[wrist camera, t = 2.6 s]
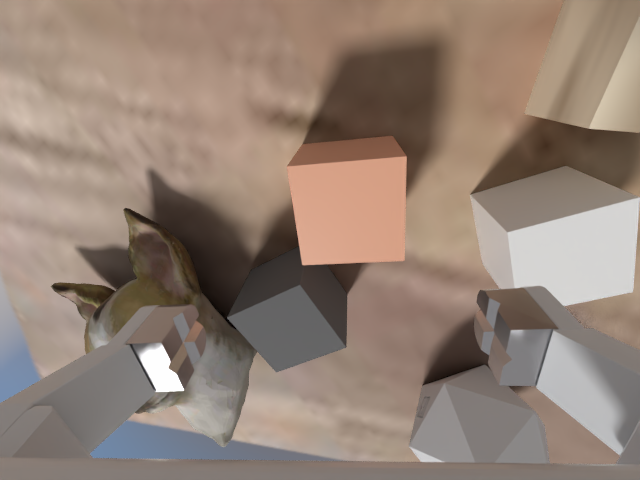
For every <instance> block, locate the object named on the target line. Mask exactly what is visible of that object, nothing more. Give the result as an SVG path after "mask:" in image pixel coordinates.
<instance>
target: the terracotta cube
mask: <svg viewBox="0 0 640 480" xmlns="http://www.w3.org/2000/svg"><path fill="white" fill-rule="evenodd" d="M406 164H407V156H406V155H405V153H404V152H403V150H402V149H401V147H400V146H399V144H398V143H397V141H396V140H395V139H394V137H393V136H383V137H373V138H362V139H351V140H341V141H330V142H319V143H309V144H302V146H301V147H300V149H299V150H298V151H297V153H296V154H295V156H294V157H293V158H292V160H291V161H290V163H289V164H288V166H287V171H288V177H289V183H290V190H291V196H292V203H293V209H294V215H295V222H296V228H297V235H298V241H299V247H300V254H301V260H302V265H320V264H343V263H366V262H389V261H404V259H405V211H406Z"/></svg>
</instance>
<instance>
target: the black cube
mask: <svg viewBox="0 0 640 480" xmlns="http://www.w3.org/2000/svg"><path fill="white" fill-rule="evenodd" d="M227 319H228V320H229V321H230V322H231V323H232V324H233V325H234V326H235V327H236V328H237V330H238V331H239V332H240V333H241V334H242V335H243V336H244V337H245V338H246V339H247V341H248V342H249V343H250V344H251V345H252V346H253V347H254V348H255V349H256V351H257V352H258V353H259V354H260V355H261V356H262V357H263V358H264V359H265V360H266V362H267V363H268V364H269V365H270V366H271V367H272V368H273V369H274V370H275V371H276V372H279V371H282V370H284V369H287V368H290V367H293V366H296V365H298V364H301V363H304V362H307V361H310V360H312V359H315V358H318V357H321V356H324V355H327V354H329V353H332V352H335V351H338V350H341V349H343V348H346V336H347V293H346V292H345V290H344V289H343V288H342V286H341V285H340V283H339V282H338V280H337V279H336V277H335V276H334V274H333V273H332V271H331V270H330V268H329V267H328V265H327V264H320V265H302V260H301V254H300V247H299V246H298V247H296V248H294V249H292V250H290V251H288V252H286V253H284V254H282V255H280V256H278V257H276V258H274V259H272V260H270V261H268V262H266V263H264V264H262V265H260V266H258V267H256V268H254V269H252V270H251V271H250V273H249V275H248V277H247V279H246V281H245V283H244V285H243V287H242V289H241V291H240V293H239V295H238V297H237V299H236V301H235V303H234V305H233V307H232V309H231V310H230V312H229V314H228V316H227Z"/></svg>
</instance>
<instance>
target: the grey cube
mask: <svg viewBox="0 0 640 480" xmlns="http://www.w3.org/2000/svg"><path fill="white" fill-rule="evenodd" d="M470 197H471V203H472V208H473V214H474V219H475V225H476V230H477V236H478V242H479V247H480V253H481V258H482V264H483V265H484V267H485V268H486V270H487V271H488V272H489V274H490V275H491V277H492V278H493V280H494V281H495V283H496V284H497V285H498V287H499V288H500V289H507V288H520V287H529V286H543V287H545V288H546V289H547V290H548V291H549V292H550V293H551V294H552V295H553V296H554V297H555V298H556V299H557V300H558V301H559V302H560V303H561V304H562V305H563V306H567V305H572V304H577V303H581V302H586V301H591V300H596V299H601V298H606V297H611V296H616V295H621V294H626V293H630V292H633V285H634V271H635V257H636V243H637V230H638V216H639V202H640V197H638V196H636V195H633V194H631V193H629V192H626V191H624V190H622V189H619V188H617V187H615V186H612V185H610V184H608V183H605V182H603V181H601V180H598V179H596V178H594V177H591V176H589V175H587V174H584V173H582V172H580V171H577V170H575V169H573V168H570V167H568V166H563V167H560V168H557V169H553V170H550V171H547V172H543V173H540V174H537V175H534V176H530V177H527V178H524V179H520V180H517V181H514V182H510V183H507V184H504V185H500V186H497V187H494V188H490V189H487V190H484V191H480V192H477V193H474V194H470Z"/></svg>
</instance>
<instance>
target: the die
mask: <svg viewBox="0 0 640 480" xmlns="http://www.w3.org/2000/svg"><path fill="white" fill-rule="evenodd" d="M409 447H410V448H411V450H412V451H413V452H414V453H415V455H416V456H417V457H418V458H419V460H420V461H421V462H467V463H550V461H549V454H548V447H547V439H546V432H545V425H544V424H543V422H542V421H541V419H540V418H539V416H538V415H537V413H536V412H535V411H534V410H533V409H532V408H531V407H530V406H529V405H528V404H527V403H526V402H525V401H524V400H523V399H521V398H520V397H519V396H518V395H517V394H516V393H515V392H514V391H513V390H512V389H511V388H510V387H509V386H499V384H498V382H497V380H496V378H495V376H494V374H493V373H492V371H491V370H490V369H489V368H488V367H487V366H486V365H482V366H479V367H476V368H473V369H470V370H467V371H464V372H461V373H458V374H455V375H452V376H449V377H446V378H443V379H440V380H437V381H434V382H431V383H429V384H426V385H423V386H422V389H421V394H420V398H419V403H418V407H417V412H416V417H415V421H414V426H413V430H412V435H411V439H410V444H409Z"/></svg>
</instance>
